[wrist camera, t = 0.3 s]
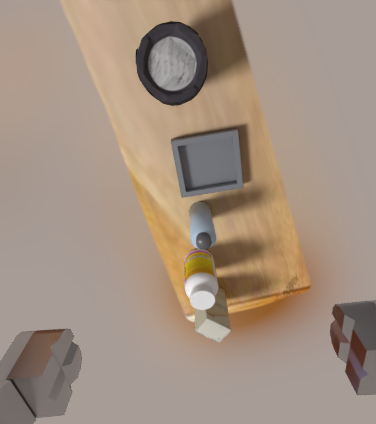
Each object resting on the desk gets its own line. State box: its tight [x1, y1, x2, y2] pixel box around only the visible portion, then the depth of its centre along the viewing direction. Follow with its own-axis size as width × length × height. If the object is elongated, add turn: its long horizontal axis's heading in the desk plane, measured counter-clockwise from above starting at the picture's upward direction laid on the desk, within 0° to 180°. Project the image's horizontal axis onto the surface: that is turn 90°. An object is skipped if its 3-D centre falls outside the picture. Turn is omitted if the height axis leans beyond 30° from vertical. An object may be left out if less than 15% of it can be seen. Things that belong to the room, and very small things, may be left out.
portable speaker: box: [136, 21, 208, 106], centre depth 40 cm, size 9×9×20 cm
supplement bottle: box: [184, 249, 218, 310], centre depth 60 cm, size 7×7×13 cm
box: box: [171, 128, 243, 198], centre depth 55 cm, size 11×12×2 cm
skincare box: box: [195, 287, 231, 343], centre depth 64 cm, size 6×4×12 cm
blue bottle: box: [189, 202, 216, 250], centre depth 55 cm, size 4×4×12 cm
